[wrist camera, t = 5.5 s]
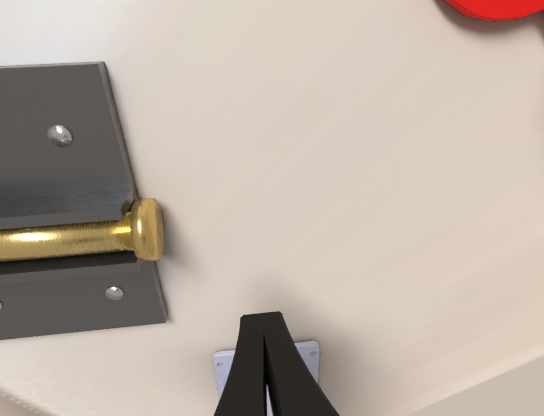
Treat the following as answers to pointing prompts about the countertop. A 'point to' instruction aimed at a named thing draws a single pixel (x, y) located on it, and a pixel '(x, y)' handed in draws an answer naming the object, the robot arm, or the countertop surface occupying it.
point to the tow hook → (497, 8)
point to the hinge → (67, 203)
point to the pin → (90, 236)
